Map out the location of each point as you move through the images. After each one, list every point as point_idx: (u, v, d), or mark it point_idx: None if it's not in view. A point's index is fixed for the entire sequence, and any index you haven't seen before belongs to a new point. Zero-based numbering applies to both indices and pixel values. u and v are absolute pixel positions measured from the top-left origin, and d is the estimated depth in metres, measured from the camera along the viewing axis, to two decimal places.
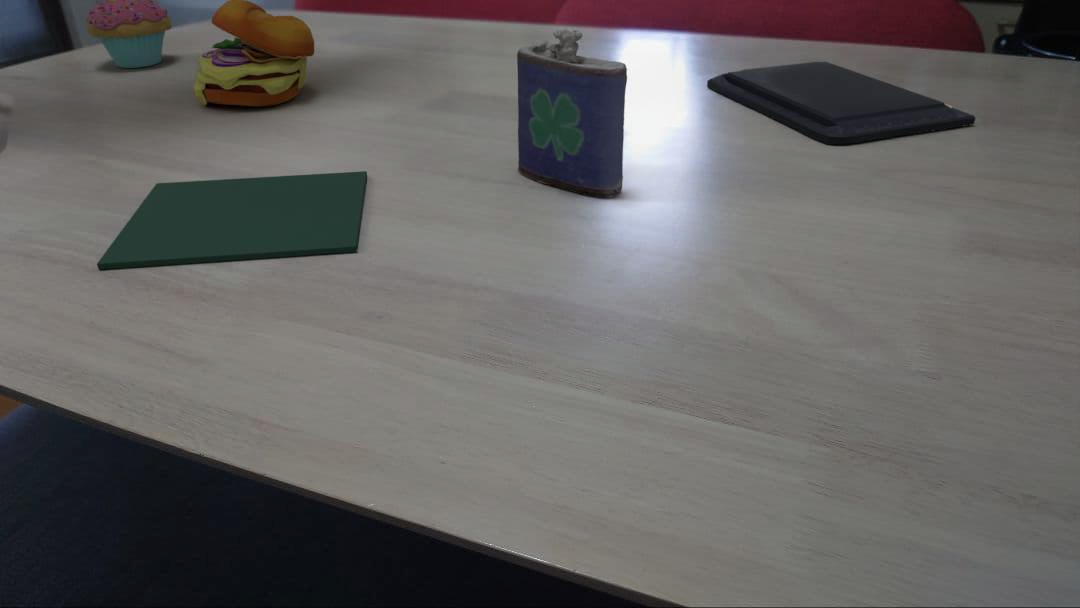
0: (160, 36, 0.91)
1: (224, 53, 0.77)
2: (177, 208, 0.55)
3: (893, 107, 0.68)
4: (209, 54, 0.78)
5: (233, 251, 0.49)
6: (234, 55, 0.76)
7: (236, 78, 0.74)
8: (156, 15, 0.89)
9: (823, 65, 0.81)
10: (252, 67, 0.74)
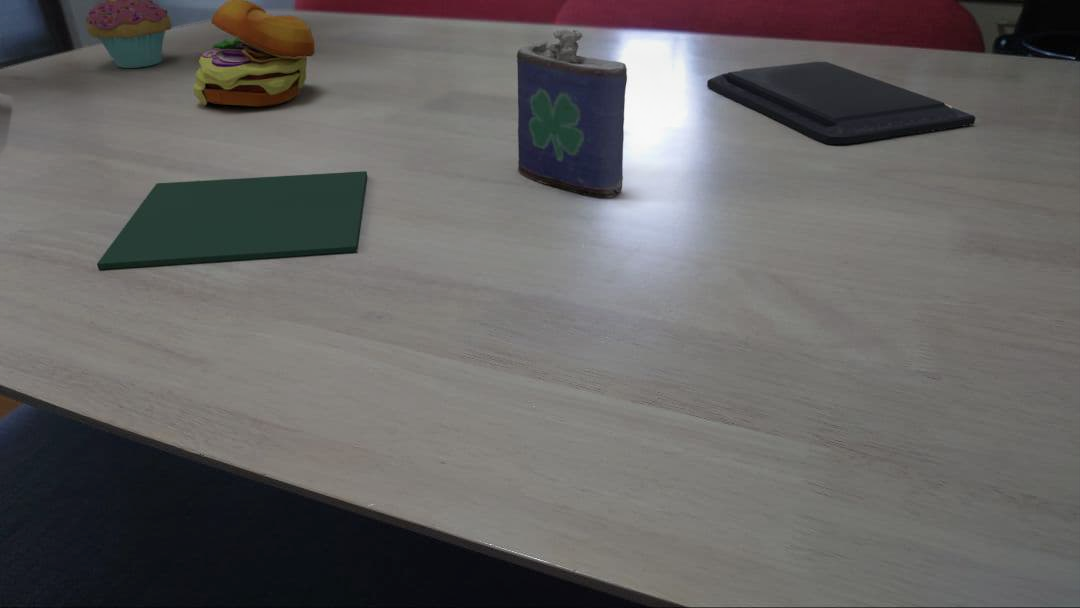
0: (160, 36, 0.91)
1: (224, 53, 0.77)
2: (177, 208, 0.55)
3: (893, 107, 0.68)
4: (209, 54, 0.78)
5: (233, 251, 0.49)
6: (234, 55, 0.76)
7: (236, 78, 0.74)
8: (156, 15, 0.89)
9: (823, 65, 0.81)
10: (252, 67, 0.74)
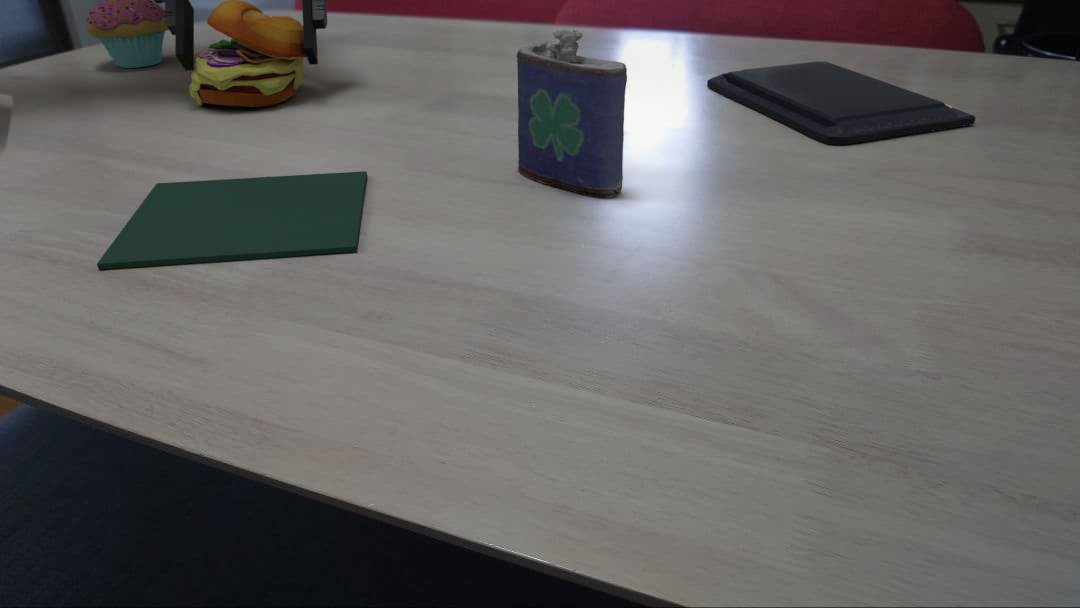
0: (160, 36, 0.91)
1: (220, 53, 0.77)
2: (177, 208, 0.55)
3: (893, 107, 0.68)
4: (205, 54, 0.78)
5: (233, 251, 0.49)
6: (229, 56, 0.76)
7: (230, 79, 0.74)
8: (156, 15, 0.89)
9: (823, 65, 0.80)
10: (247, 68, 0.74)
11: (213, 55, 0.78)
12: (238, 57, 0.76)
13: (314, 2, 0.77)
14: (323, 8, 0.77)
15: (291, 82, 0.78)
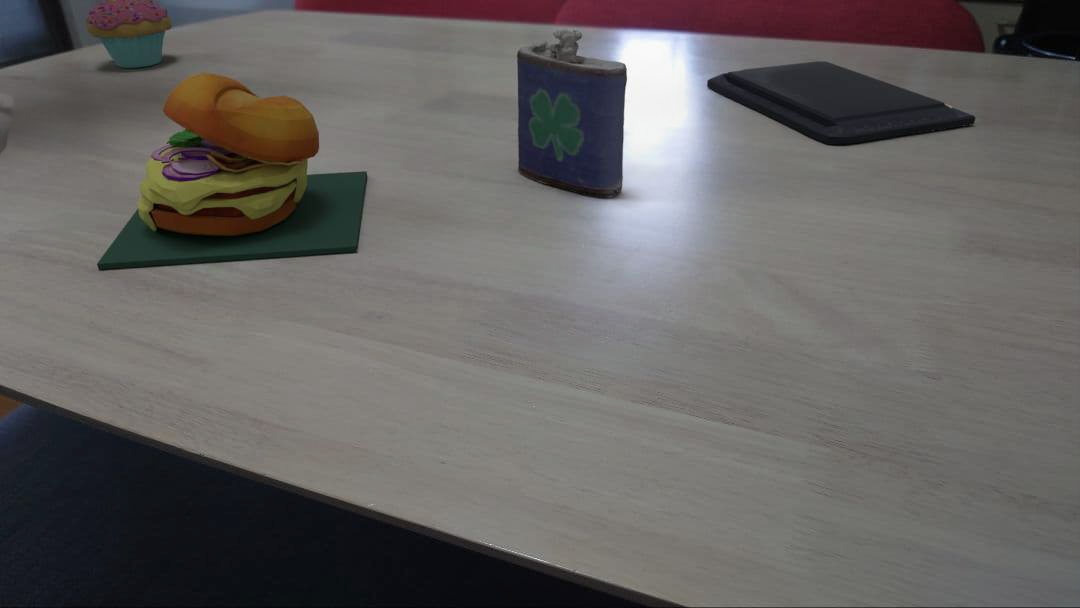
0: (160, 36, 0.91)
1: (183, 154, 0.51)
2: None
3: (893, 107, 0.68)
4: (163, 153, 0.52)
5: (233, 251, 0.49)
6: (198, 158, 0.50)
7: (198, 198, 0.48)
8: (156, 15, 0.89)
9: (823, 65, 0.80)
10: (223, 181, 0.49)
11: None
12: (211, 161, 0.50)
13: None
14: None
15: (291, 194, 0.52)
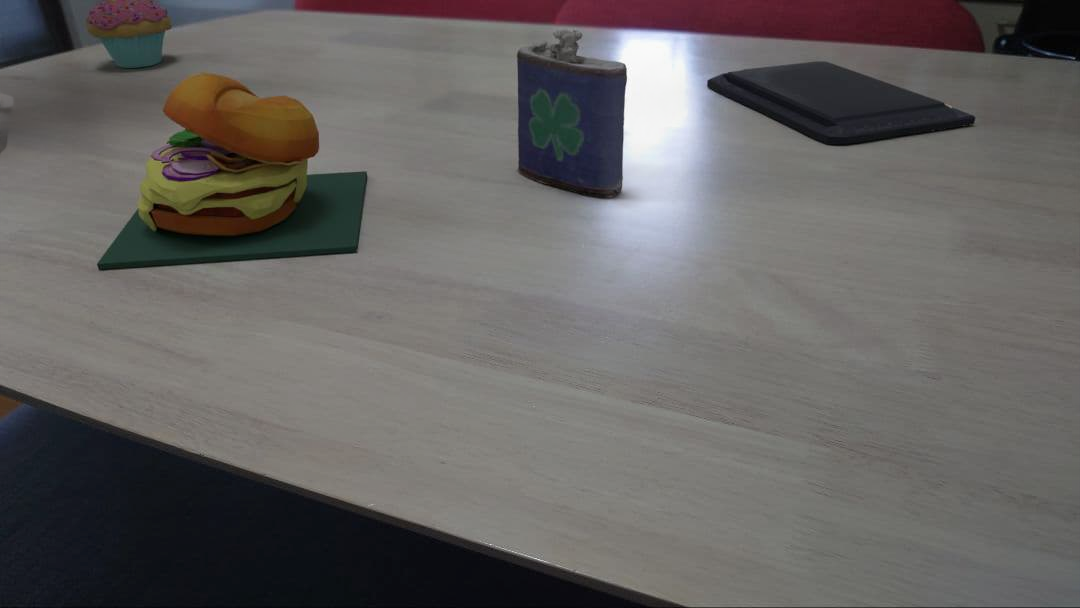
0: (160, 36, 0.91)
1: (183, 154, 0.51)
2: None
3: (893, 107, 0.68)
4: (163, 153, 0.52)
5: (233, 251, 0.49)
6: (198, 158, 0.50)
7: (198, 198, 0.48)
8: (156, 15, 0.89)
9: (823, 65, 0.80)
10: (223, 181, 0.49)
11: None
12: (211, 161, 0.50)
13: None
14: None
15: (291, 194, 0.52)
